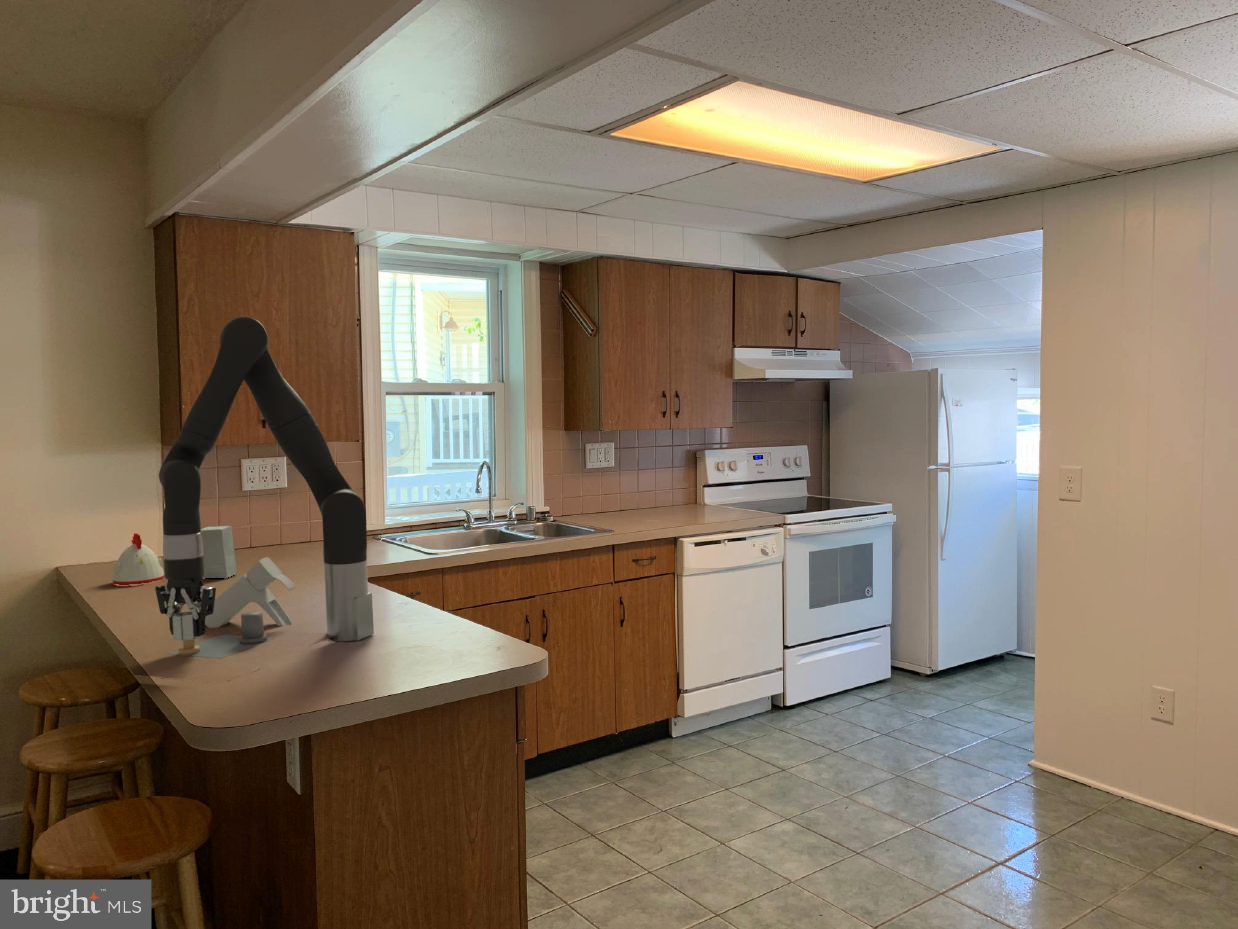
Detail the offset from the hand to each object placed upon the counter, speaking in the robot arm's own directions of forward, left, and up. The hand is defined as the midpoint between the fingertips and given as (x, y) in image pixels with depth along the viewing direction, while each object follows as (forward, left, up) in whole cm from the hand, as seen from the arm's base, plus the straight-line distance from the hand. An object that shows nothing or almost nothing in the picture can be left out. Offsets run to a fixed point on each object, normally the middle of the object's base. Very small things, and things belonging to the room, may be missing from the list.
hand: (187, 634), depth 190 cm
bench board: (-3, -6, -5) cm, 8 cm away
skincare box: (+61, -76, -5) cm, 98 cm away
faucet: (+5, -24, -5) cm, 25 cm away
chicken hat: (+81, -65, -5) cm, 104 cm away
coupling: (0, 0, -1) cm, 1 cm away
